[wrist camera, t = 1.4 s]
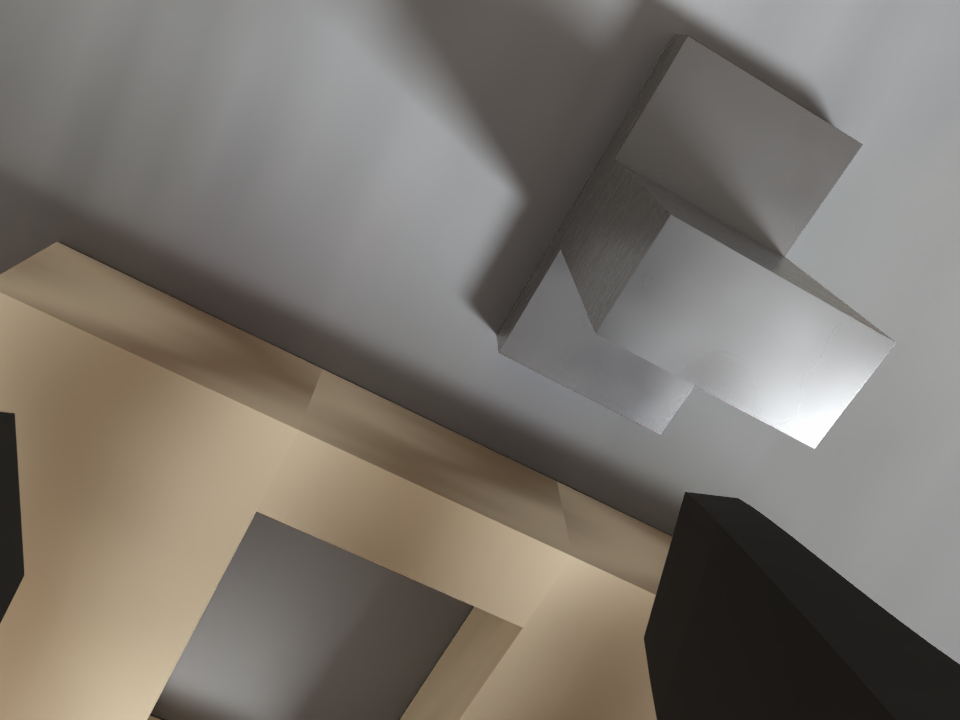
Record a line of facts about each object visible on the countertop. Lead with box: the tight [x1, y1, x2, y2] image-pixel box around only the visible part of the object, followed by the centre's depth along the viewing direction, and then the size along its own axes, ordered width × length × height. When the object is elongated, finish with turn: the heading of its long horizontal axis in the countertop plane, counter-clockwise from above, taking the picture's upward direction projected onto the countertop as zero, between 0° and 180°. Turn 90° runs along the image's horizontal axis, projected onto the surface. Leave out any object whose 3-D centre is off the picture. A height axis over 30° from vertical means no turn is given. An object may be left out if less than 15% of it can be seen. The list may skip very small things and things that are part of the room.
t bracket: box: [497, 35, 896, 448], centre depth 16 cm, size 4×7×6 cm, turn 151°
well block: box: [0, 242, 672, 720], centre depth 20 cm, size 18×13×3 cm
